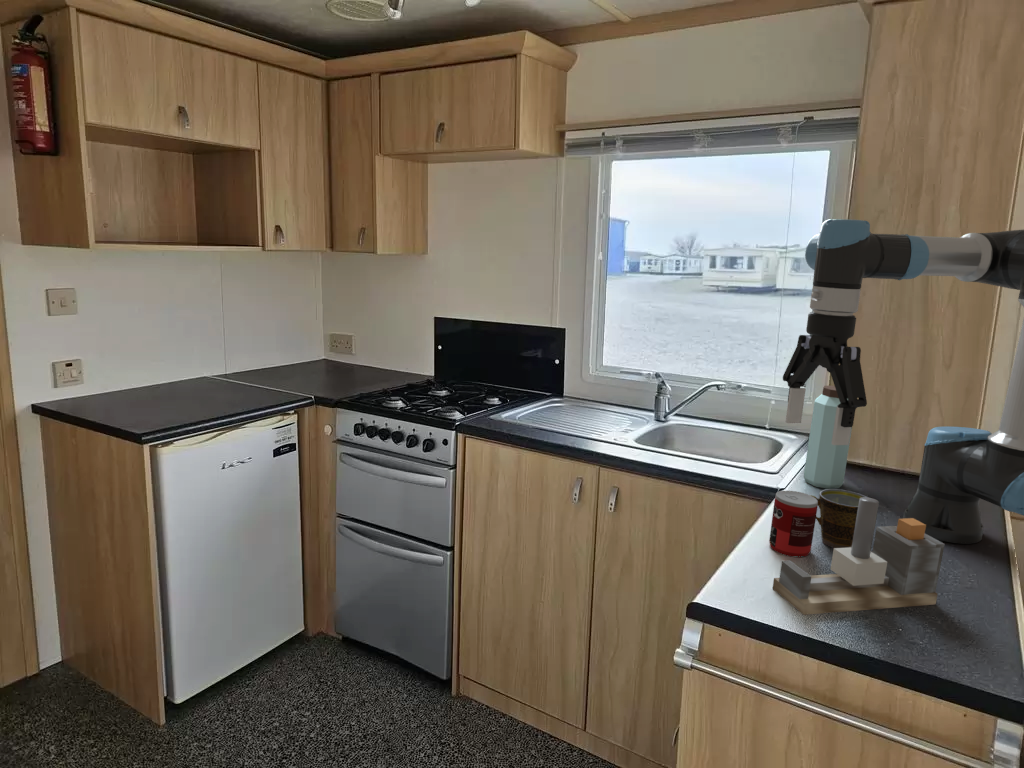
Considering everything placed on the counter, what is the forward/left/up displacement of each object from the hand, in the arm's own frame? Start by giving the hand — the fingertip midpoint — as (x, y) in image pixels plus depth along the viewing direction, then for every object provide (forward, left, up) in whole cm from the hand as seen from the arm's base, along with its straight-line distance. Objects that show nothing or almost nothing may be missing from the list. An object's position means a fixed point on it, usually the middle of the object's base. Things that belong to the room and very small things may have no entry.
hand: (815, 433), depth 127 cm
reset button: (-16, +8, -17) cm, 24 cm away
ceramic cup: (-17, -13, -28) cm, 35 cm away
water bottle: (-39, -46, -28) cm, 66 cm away
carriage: (-6, +8, -24) cm, 26 cm away
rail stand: (-6, +8, -27) cm, 29 cm away
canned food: (-6, -11, -28) cm, 30 cm away
